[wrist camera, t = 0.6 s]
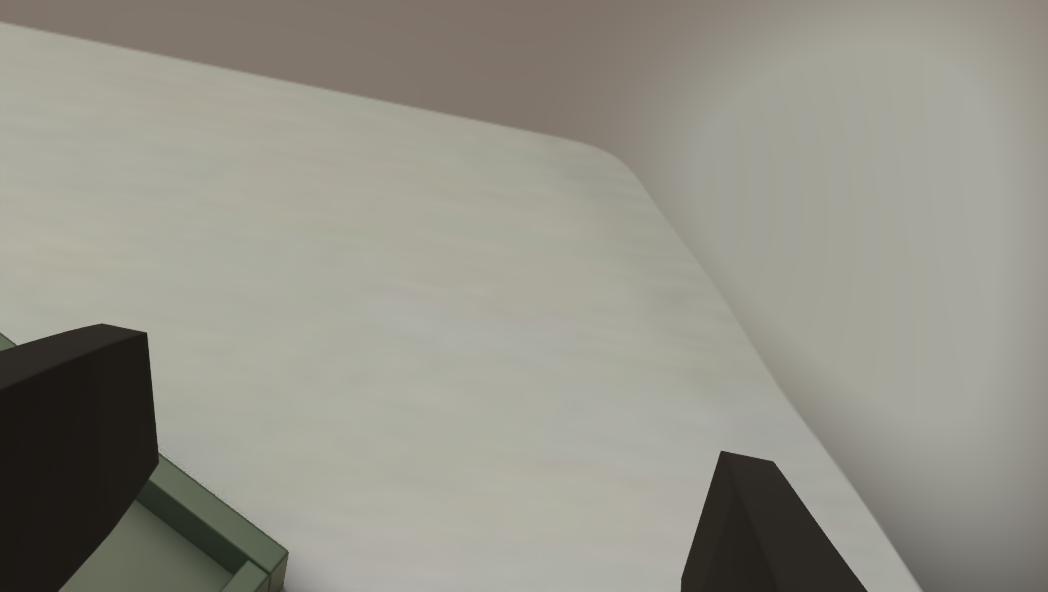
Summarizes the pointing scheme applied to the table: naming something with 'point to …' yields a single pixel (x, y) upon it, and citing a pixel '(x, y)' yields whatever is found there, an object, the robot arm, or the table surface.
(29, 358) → the robot arm
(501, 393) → the table surface
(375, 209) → the table surface
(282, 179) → the table surface
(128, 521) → the basket
